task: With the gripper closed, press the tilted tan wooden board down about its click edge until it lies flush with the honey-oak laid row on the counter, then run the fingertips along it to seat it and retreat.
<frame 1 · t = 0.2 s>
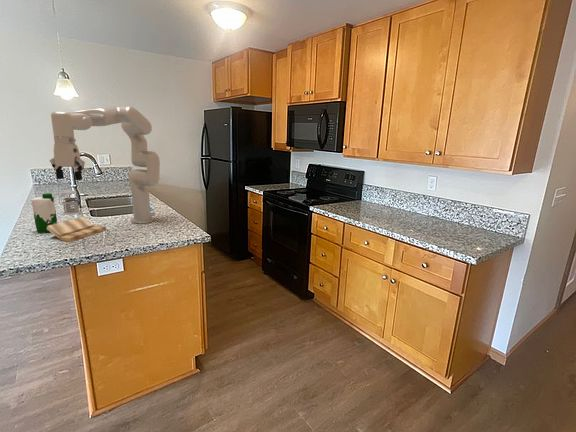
hand: (69, 179, 146), 31 cm above the counter, fingers open, 9 cm apart
laid floor row: (84, 235, 165), on the counter
french press: (70, 213, 208), on the counter
milk carton: (47, 231, 169), on the counter
tan wooden board: (71, 227, 166), point 4 cm above the counter, hinge at 30.0°
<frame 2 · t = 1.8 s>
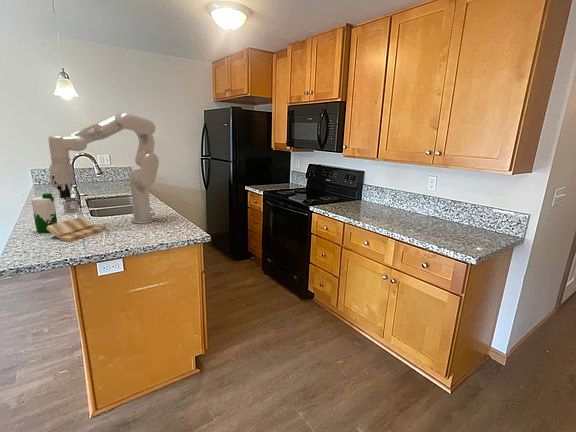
hand: (65, 197, 162), 19 cm above the counter, fingers closed
nothing on the counter moved.
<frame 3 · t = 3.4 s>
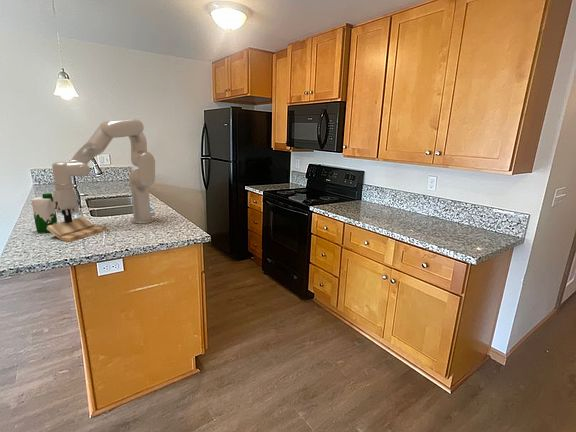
hand: (68, 222, 165), 6 cm above the counter, fingers closed
tan wooden board: (71, 227, 166), point 4 cm above the counter, hinge at 30.0°, touching gripper
everything else where it was.
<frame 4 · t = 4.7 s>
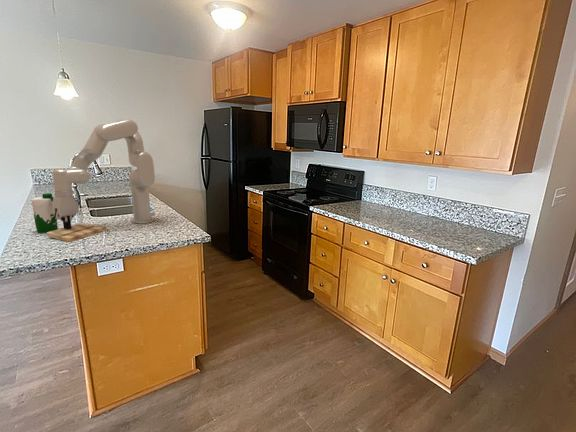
hand: (67, 228, 166), 3 cm above the counter, fingers closed
tan wooden board: (72, 230, 166), point 2 cm above the counter, hinge at 6.4°, touching gripper
everything else where it was.
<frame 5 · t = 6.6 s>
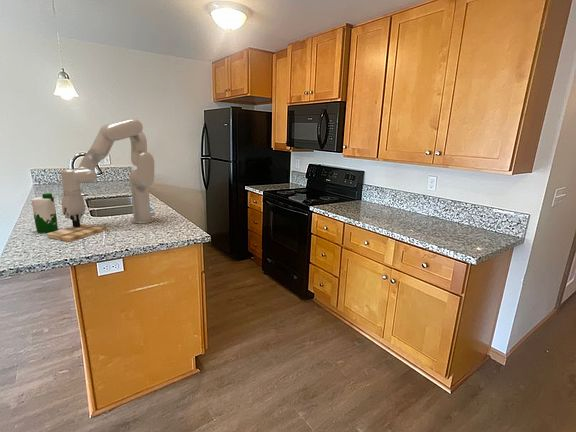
hand: (76, 226, 170), 2 cm above the counter, fingers closed
tan wooden board: (72, 231, 166), point 1 cm above the counter, hinge at 2.9°, touching gripper
everything else where it was.
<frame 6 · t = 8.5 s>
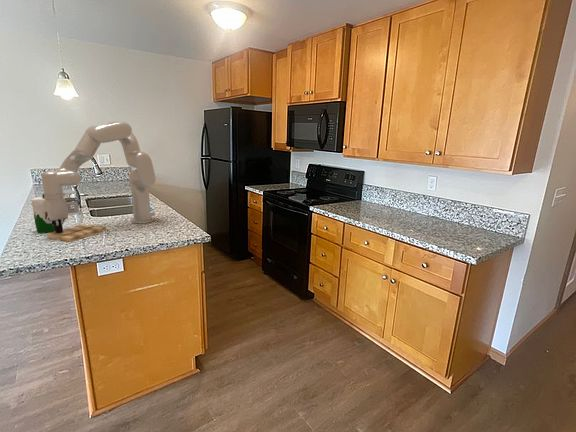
hand: (59, 232, 161), 2 cm above the counter, fingers closed
tan wooden board: (72, 231, 166), point 1 cm above the counter, hinge at 1.4°, touching gripper
everything else where it was.
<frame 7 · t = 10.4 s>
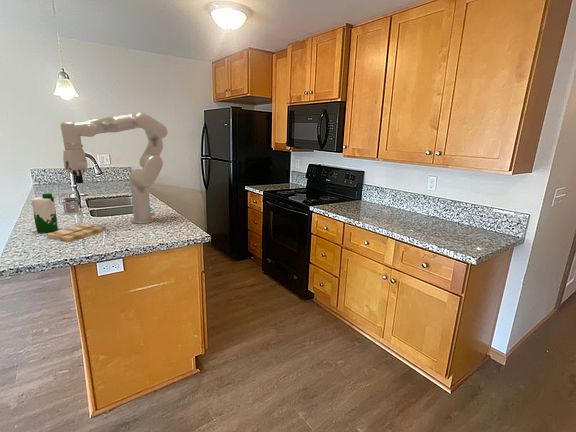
hand: (79, 182, 166), 26 cm above the counter, fingers closed
tan wooden board: (72, 231, 166), point 1 cm above the counter, hinge at 1.4°
everything else where it was.
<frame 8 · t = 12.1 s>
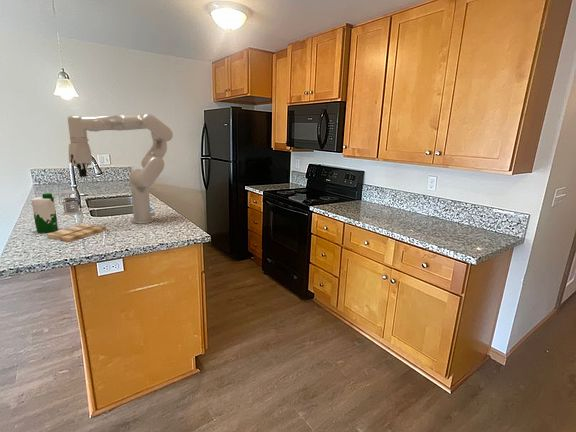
hand: (83, 176, 168), 29 cm above the counter, fingers closed
nothing on the counter moved.
at the end: tan wooden board at +1° (first picture: +30°) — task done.
